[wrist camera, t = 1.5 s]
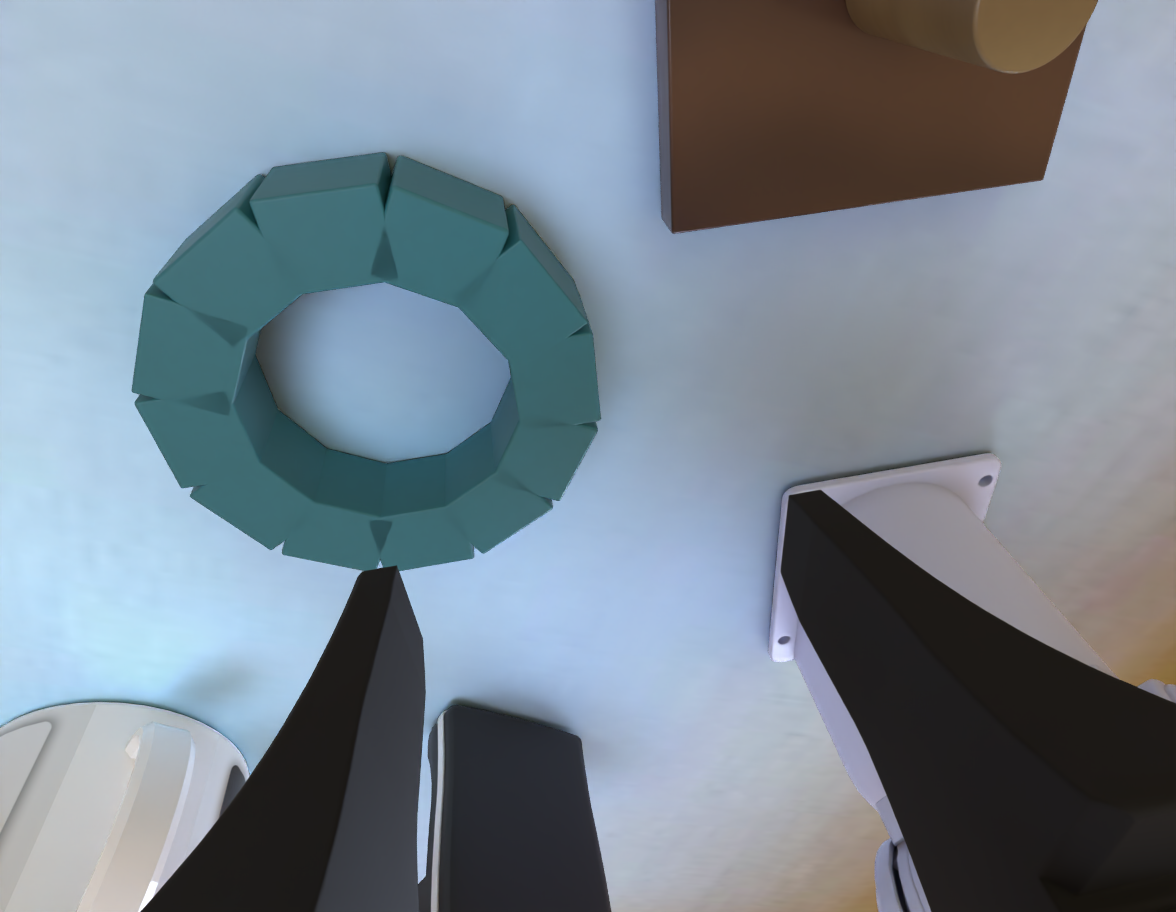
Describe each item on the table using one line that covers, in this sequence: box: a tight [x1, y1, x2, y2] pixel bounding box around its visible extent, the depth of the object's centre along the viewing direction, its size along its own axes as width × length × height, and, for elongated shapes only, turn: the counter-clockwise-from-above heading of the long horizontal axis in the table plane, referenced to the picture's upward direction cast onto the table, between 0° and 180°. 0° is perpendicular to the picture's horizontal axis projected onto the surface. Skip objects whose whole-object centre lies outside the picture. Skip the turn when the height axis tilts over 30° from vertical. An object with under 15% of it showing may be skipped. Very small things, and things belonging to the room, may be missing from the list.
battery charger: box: [418, 705, 611, 912], centre depth 28 cm, size 7×4×11 cm, turn 56°
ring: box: [132, 152, 601, 571], centre depth 20 cm, size 11×11×3 cm
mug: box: [0, 702, 250, 912], centre depth 25 cm, size 10×12×11 cm
